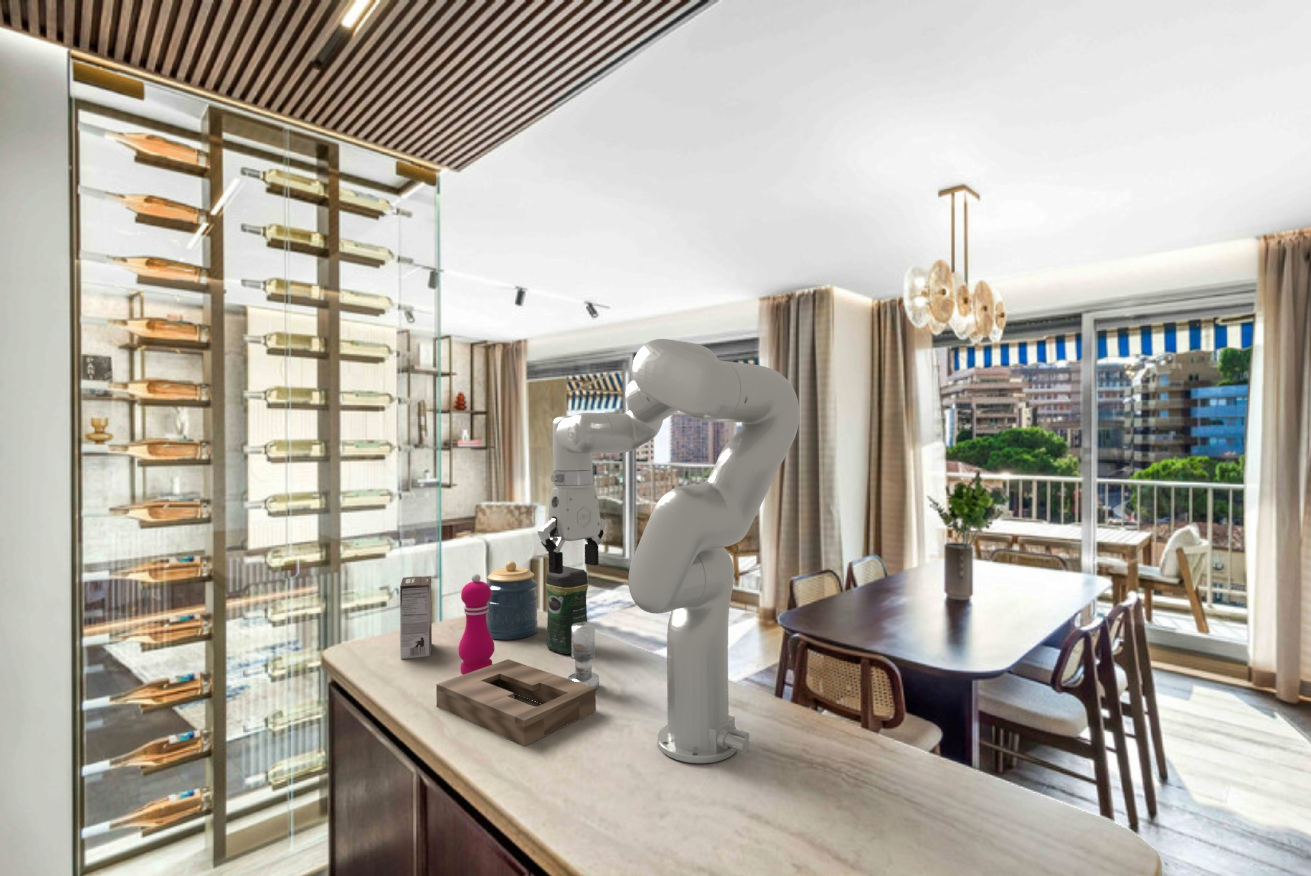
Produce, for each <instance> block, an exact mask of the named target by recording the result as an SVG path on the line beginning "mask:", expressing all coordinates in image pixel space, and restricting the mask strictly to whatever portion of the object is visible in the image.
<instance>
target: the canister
mask: <svg viewBox="0 0 1311 876" xmlns="http://www.w3.org/2000/svg"><path fill="white" fill-rule="evenodd" d="M534 576H535V573H534V572H532V571H531V570H529V569H528V568H525V567H518V566H517V564H516V563H515V561H513V560H511V561H510V560H509V561H506V564H505V567H502V568H498V569H495V570H493V572H491V573H489V574H488V575H487V577H486V578H487V579H488V582H487V584H488V585H489V587H490V589H491V598H490V599H489V601H488V602H487V604H488V605H489V607H488V609H489V611H488V612H487V616H486V620H487V626H488V630H489V632H490V634H491V636H492V638H493V640H501V641H504V640H505V641H507V640H508V641H509V640H518V639H523V638H527V637H531V636H532V635H534V634H535V633H536V632H537V631H538V630H537V629H538V626H539V620H538V597H539V595H537V592H536V588H537V586H538V581H536V580H534V578H533V577H534Z"/></svg>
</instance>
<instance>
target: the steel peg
mask: <svg viewBox="0 0 1311 876" xmlns="http://www.w3.org/2000/svg"><path fill="white" fill-rule="evenodd" d="M595 628H596V625H595V623H593V622H590V621H587V622H579V623H575V624H573V625H572V653H571V659H572V660H574V673H572V674H570V675H568V677H567V679H570V680H573V681H576V682H579V683H582V684H585V685H588V686H591V687H594V688H596V692H597V691H598V690H599V689H600V675H599V674H597V673H596V672H593V671H592V669H593V665H592V664H593V661H592V659H595V657H596V651H595V650H596V647H595V646H596V638H595V637H596V635H595V632H596V629H595Z"/></svg>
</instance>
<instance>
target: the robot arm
mask: <svg viewBox="0 0 1311 876" xmlns="http://www.w3.org/2000/svg"><path fill="white" fill-rule="evenodd" d="M631 372H632V374H631V375H632V378H633V379H631V381H630V382H629V383H628V384H627V386H626V389H625V401H626V405H627V407H628V409H629V410H628V411H626V412H624V413H614V412H612V413H611V412H581V413H577V414H574V415H562V416H557V417H556V418H555V419H553V422H552V467H553V469H552V471H553V474H552V475H551V476H550V480H551V483H552V482H553V487H552V488H551V491H550V492H551V493H550V497H549V504H548V505H549V507H548V522H546V523H545V524H544V525H542V526H541V527H540V528H539V529H538V530H537V534H538V537H539V539H540V543H541V545H542V546H543V547H544V549H545V551H546V552H547V553H548V571H549V572H550V573H556V574H562V573H563V566H564V554H563V551H561V550H562V548H563V546H564V544H565V542H573V541H579V540H584V541H586V543H585V544H584V563H585V565H589V566H590V565H591V566H598V565H599V557H600V556H599V546H600V544H601V541H602V540H601V539H602V537H603V535H604V531H605V529H606V525H607V520H605V519H604V518H602V517H601V516H600V515H601V513H600V506H599V505H600V504H599V498H598V497H599V496H598V492H597V487H596V486H595V485H594V484H593V482H594V481H593V479H594V478H593V476H594V475H593V454H595V455H596V454H597V455H598V454H622V453H623V454H624V453H628V452H631V451H634V450H636V449H638V448H640V447H641V446H643V445H645V444H647V443H648V442H650V441H652V440H653V439H654V438H655V437H656V436H657V435H658V434H659V432H660V430H661V428H662V426H663V421H664V420H666V419H667V418H669V417H670V416H672V415H674V414H675V413H677V412H681V413H682V414H685V415H686V416H689V417H691V418H693V419H697V420H700V421H703V422H709V423H711V422H712V423H741V424H742V425H741V427H740V429H739V430H738V431H737V432H736V433H735V434H734V436H732V437H731V438H730V440H728V442H727V443H726V444H725V446H723V448H722V450H721V452H720V453H719V455H718V458H717V459H716V460H717V461H716V463H715V464H714V467H713V469H712V471H711V472H710V475H709V476H708V477H707V479H706V480H705V481H704V482H701V483H700V484H691V485H690V484H689V485H687V484H686V485H682V486H677V487H674V488H673V489H670V490H669V491H667V492H665V494H663V496H661V498H660V499H658V501H657V503H656V504H655V505H654V507H653V509H652V511H651V514H650V517H649V519H648V521H647V523H646V526H645V528H644V530H643V532H642V536H641V538H640V539H639V543H638V544H637V547H636V549H635V552H634V555H633V556H632V559H631V563H630V565H629V566H630V567H629V570H628V571H629V572H628V583H627V584H628V589H629V593H630V596H631V599H632V601H633V602H634V603H635V605H636V606H637V607H638V608H639V609H641V610H642V611H644V612H646V613H650V614H664V613H669V612H670V616H669V618H668V624H667V632H666V683H667V684H666V687H667V688H666V691H667V695H666V696H667V697H666V698H667V701H666V702H667V703H666V705H667V707H666V709H667V714H666V715H667V718H666V719H667V724H666V725H664V727H662V729H660V730H659V732H658V734H657V746H658V747H659V750H661V752H662V753H663V754H665V755H666V756H668V757H670V758H672V759H673V760H676V761H680V762H684V763H688V764H710V763H716V762H721V761H724V760H726V759H728V758H730V757H732V756H733V755H734V754H735V753H736V752H740V753H743V754H746V753H747V752H748V750H749V746H750V743H749V742H750V740H749V739H750V732H747V731H744V730H740V729H737V727H736V726H735V725H736V721H735V719H736V717H735V716H732V715H730V714H729V620H730V619H729V616H730V605H731V600H732V595H733V589H734V582H735V568H734V563H733V560H732V557H731V555H730V554H729V552H728V550H726V548H725V547H729V546H734V545H736V544H737V543H739V542H741V541H742V540H743V539H744V538H745V537H746V536H747V534H748V532H749V530H750V529H751V526H752V524H753V523H754V521H755V518H756V516H757V514H758V512H759V510H760V508H761V506H762V504H763V502H764V500H765V498H766V495H767V494H768V492H769V490H770V487H771V486H772V483H773V480H774V478H775V476H776V475H777V473H778V470H779V469H780V467H781V465H782V464H783V462H784V460H785V458H786V456H788V455H787V454H788V453H789V451H790V449H791V447H792V445H793V443H794V440H795V438H796V436H797V433H798V429H799V423H800V412H801V411H800V405H799V400H798V397H797V393H796V390H795V389H794V387H793V385H792V384H791V383H790V381H789V380H788V379H787V378H786V377H785V376H784V375H783V374H782V373H780V372H779V371H777V370H775V369H772V368H770V367H767V366H765V365H761V364H753V363H747V362H746V363H745V362H735V361H728V360H726V361H725V360H720V359H719V358H718V356H717V355H716V354H715V353H714V352H713V351H712V350H711V349H710V348H708V347H706V346H704V345H702V344H698V343H693V342H688V341H681V340H674V339H668V338H667V339H666V338H657V339H656V338H655V339H652V340H650V341H647V342H646V343H645V344H643V346H641V347H640V349H639V350H638V351H637V353H636V355H635V356H634V357H633V362H632V368H631Z"/></svg>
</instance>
